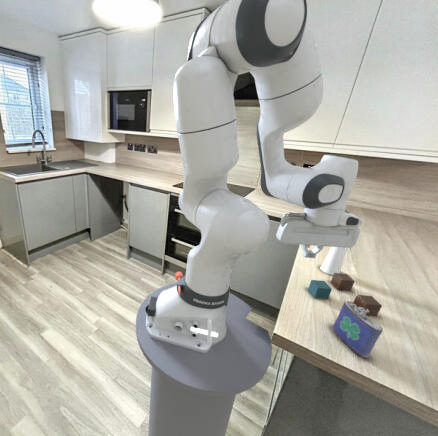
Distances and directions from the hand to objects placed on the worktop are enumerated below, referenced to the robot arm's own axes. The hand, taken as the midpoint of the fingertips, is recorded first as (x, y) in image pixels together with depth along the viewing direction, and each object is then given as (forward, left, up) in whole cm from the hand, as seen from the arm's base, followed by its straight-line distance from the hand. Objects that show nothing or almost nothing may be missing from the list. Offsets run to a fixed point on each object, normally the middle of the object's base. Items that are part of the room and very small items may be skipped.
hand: (308, 256), depth 71 cm
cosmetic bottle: (+18, +15, -14) cm, 27 cm away
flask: (+4, -18, -14) cm, 23 cm away
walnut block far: (+16, +5, -13) cm, 22 cm away
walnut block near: (+16, -6, -13) cm, 22 cm away
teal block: (+6, 0, -13) cm, 15 cm away
